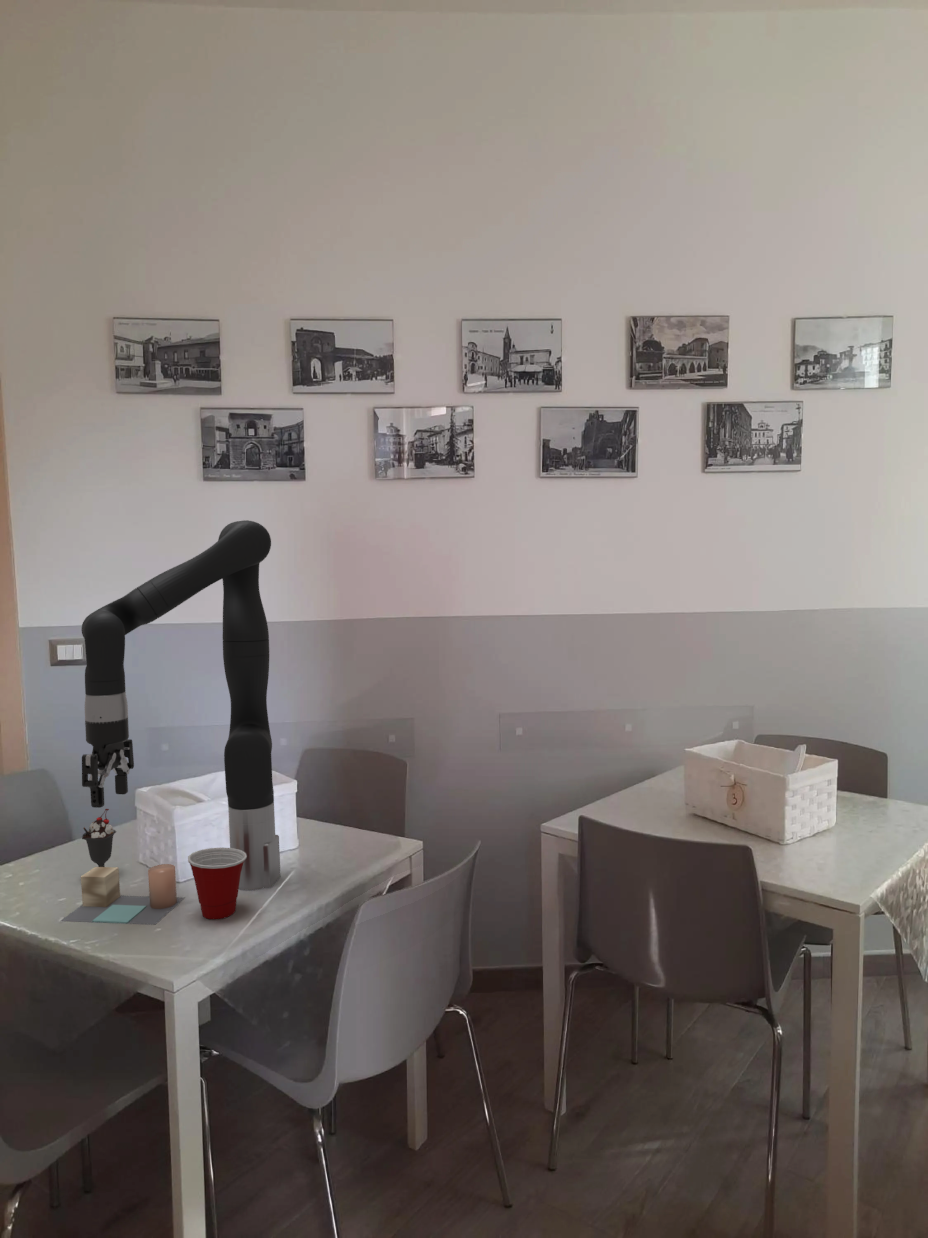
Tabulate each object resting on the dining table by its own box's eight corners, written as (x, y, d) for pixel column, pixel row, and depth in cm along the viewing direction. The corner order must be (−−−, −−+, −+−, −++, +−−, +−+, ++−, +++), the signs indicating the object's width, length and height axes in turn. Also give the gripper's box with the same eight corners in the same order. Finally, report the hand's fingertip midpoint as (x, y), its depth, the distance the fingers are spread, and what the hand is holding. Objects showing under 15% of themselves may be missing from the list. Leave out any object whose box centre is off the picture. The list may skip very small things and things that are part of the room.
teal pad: (146, 907, 163) (146, 906, 163) (127, 923, 156) (127, 922, 156) (112, 906, 164) (112, 904, 164) (92, 922, 157) (92, 920, 157)
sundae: (125, 873, 182) (121, 806, 181) (108, 886, 175) (104, 816, 174) (96, 873, 183) (91, 806, 181) (79, 885, 176) (74, 815, 175)
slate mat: (185, 900, 167) (184, 897, 167) (155, 927, 155) (155, 924, 155) (96, 897, 170) (96, 894, 170) (60, 924, 158) (60, 921, 158)
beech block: (120, 896, 168) (118, 867, 168) (106, 907, 163) (104, 877, 163) (96, 895, 169) (95, 867, 169) (82, 906, 164) (80, 876, 164)
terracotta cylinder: (181, 898, 167) (179, 864, 166) (169, 909, 162) (167, 874, 161) (157, 897, 167) (155, 863, 167) (145, 908, 162) (143, 873, 162)
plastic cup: (256, 919, 158) (253, 857, 157) (197, 933, 153) (194, 869, 152) (241, 899, 167) (238, 840, 166) (185, 911, 162) (182, 851, 161)
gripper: (105, 724, 151) (108, 812, 153) (144, 709, 165) (147, 790, 167) (66, 724, 152) (70, 811, 153) (108, 709, 166) (111, 789, 168)
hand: (110, 800), depth 160 cm, fingers open, 8 cm apart
